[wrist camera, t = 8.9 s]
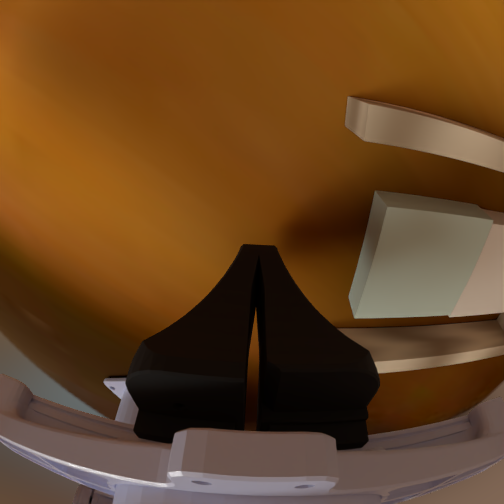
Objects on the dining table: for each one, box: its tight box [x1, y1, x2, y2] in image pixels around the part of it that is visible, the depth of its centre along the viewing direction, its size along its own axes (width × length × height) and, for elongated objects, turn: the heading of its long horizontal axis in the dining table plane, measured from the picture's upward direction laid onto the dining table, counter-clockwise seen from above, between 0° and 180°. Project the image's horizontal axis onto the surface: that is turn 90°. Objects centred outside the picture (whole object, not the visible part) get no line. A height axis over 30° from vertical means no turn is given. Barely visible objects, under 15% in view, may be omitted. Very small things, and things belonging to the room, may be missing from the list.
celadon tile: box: [349, 190, 494, 318], centre depth 13 cm, size 6×6×2 cm
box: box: [337, 96, 504, 373], centre depth 12 cm, size 16×13×2 cm
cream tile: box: [448, 209, 504, 317], centre depth 13 cm, size 6×6×2 cm
